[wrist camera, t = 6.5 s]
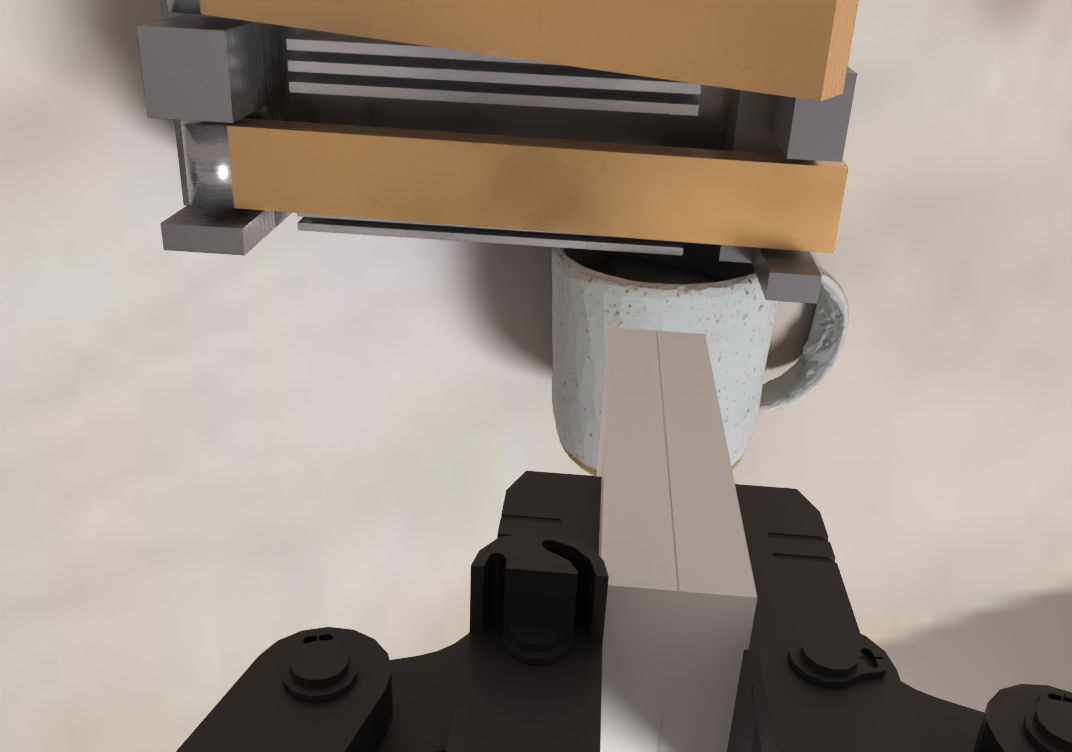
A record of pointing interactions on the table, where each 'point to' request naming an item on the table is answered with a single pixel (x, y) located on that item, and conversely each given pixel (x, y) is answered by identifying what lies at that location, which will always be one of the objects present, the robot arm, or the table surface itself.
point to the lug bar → (797, 136)
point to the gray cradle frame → (399, 112)
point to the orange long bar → (516, 183)
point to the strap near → (602, 34)
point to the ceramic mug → (678, 306)
